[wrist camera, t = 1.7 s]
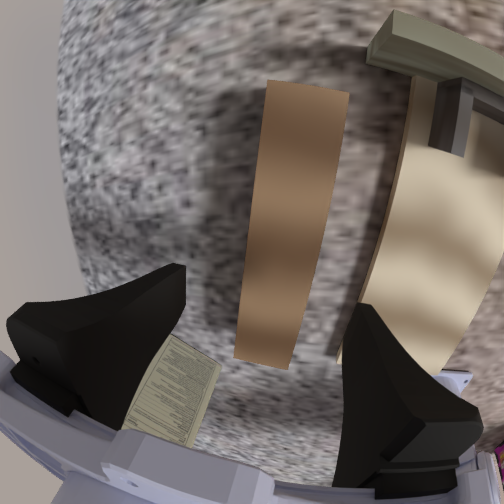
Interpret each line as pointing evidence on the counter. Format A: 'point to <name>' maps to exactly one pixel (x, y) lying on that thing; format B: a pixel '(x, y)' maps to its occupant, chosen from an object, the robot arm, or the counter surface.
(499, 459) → the candy bar box
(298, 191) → the rail
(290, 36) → the counter surface
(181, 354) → the skincare box
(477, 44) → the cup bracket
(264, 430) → the counter surface
